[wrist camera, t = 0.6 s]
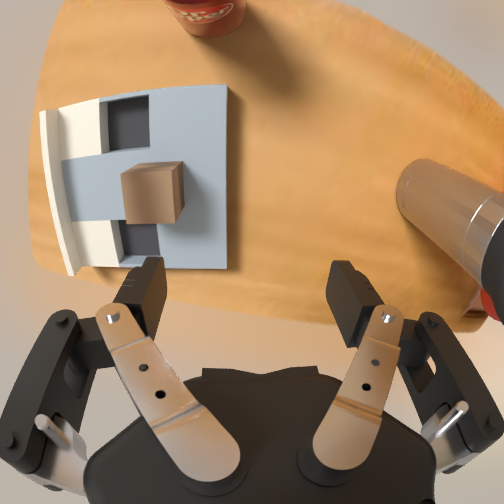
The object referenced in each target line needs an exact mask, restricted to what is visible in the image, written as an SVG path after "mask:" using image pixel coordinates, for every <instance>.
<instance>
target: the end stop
mask: <svg viewBox="0 0 504 504" xmlns="http://www.w3.org/2000/svg"><path fill="white" fill-rule="evenodd" d="M40 132H41V145H42V155H43V163H44V171H45V178H46V184H47V190H48V196H49V201H50V206H51V211H52V216H53V220H54V225H55V229H56V233H57V237H58V241H59V245H60V248H61V252H62V255H63V259H64V262H65V265H66V269H67V272H68V275H69V276H75V275H76V273H77V272H78V271H79V270H80V268H81V267H82V263H81V259H80V255H79V252H78V248H77V244H76V240H75V236H74V231H73V227H72V222H71V218H70V213H69V208H68V202H67V197H66V191H65V184H64V178H63V170H62V162H61V153H60V142H59V127H58V109H51V110H45V111H42V112H40Z"/></svg>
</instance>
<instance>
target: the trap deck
mask: <svg viewBox="0 0 504 504" xmlns="http://www.w3.org/2000/svg"><path fill="white" fill-rule="evenodd" d="M144 96H149V130H150V147H142V148H132V149H122V150H114V151H110V149H109V133H108V102H112V101H118V100H124V99H130V98H137V97H144ZM227 107H228V86H227V84H218V85H194V86H180V87H169V88H159V89H151V90H143V91H136V92H130V93H124V94H118V95H113V96H108V97H103V98H98V99H94V100H89V101H85V102H81V103H77V104H73V105H69V106H66V107H62V108H59V109H58V127H59V142H60V153H61V162H62V170H63V178H64V184H65V191H66V197H67V202H68V208H69V213H70V218H71V222H72V227H73V231H74V236H75V240H76V244H77V248H78V252H79V255H80V259H81V263H82V266H97V267H136V266H140V267H141V266H142V264H143V262H144V261H145V259H146V257H147V256H133V255H124V251H123V246H122V240H121V235H120V229H119V223H118V220H126V216H125V210H124V202H123V194H122V186H121V177H120V174H121V173H123V172H125V171H126V170H128V169H130V168H131V167H133V166H135V165H137V164H139V163H153V162H169V161H183V182H184V200H185V206H184V208H183V210H182V212H181V214H180V215H179V217H178V219H177V221H176V223H164V224H157V232H158V240H159V247H160V254H161V256H158V257H163V259H164V265H165V268H191V269H227V260H228V254H227Z"/></svg>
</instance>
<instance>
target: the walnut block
mask: <svg viewBox="0 0 504 504" xmlns="http://www.w3.org/2000/svg"><path fill="white" fill-rule="evenodd" d="M120 177H121V186H122V194H123V202H124V210H125V216H126V223H127V224H164V223H176V221H177V219H178V217H179V215H180V214H181V212H182V210H183V208H184V206H185V200H184V182H183V161H169V162H153V163H139V164H137V165H135V166H133V167H131V168H130V169H128V170H126V171H125V172H123V173H121V174H120Z"/></svg>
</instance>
